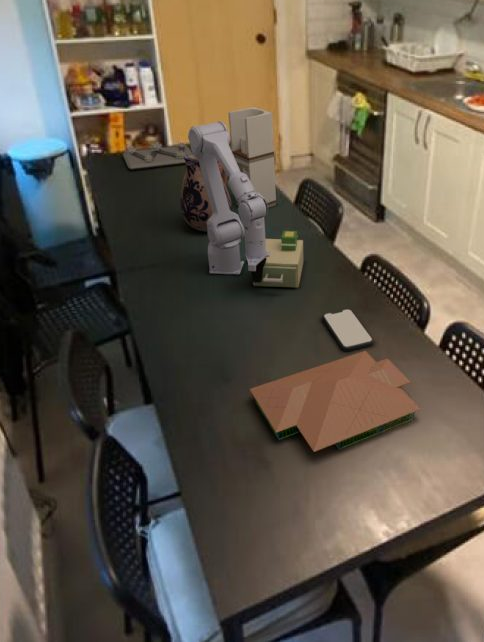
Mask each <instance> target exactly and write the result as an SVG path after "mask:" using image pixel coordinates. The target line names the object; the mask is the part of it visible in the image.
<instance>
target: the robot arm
mask: <svg viewBox="0 0 484 642" xmlns="http://www.w3.org/2000/svg"><path fill="white" fill-rule="evenodd" d="M187 139H188V142H189V146H190V151H191V152H192V153H193V156H194V157H197V158H198V160H199V164H200V168H201V171H202V175H203V179H204V182H205V186H206V190H207V193H208V197H209V201H210V204H211V208H212V212H213V214H212V216H211V217H210V218H209V220H208V221H207V229H208V232H207V237H208V238H207V239H208V240H209V243H208V246H207V257H208V266H209V267H208V268H209V270H208V271H209V272H208V273H209V274H211V275H214V274H216V275H234V276H235V275H237V276H238V275H240V274H241V273H242V270H243V267H244V265H245V264H246V265H247V270H248V272H250V273H251V279H252V283H253V282H255V283H261V280H262V275H263V267H264V265H265V263H266V260H267V259H266V258H265V257H270V252H267V251H266V242H265V239H266V227H265V226H266V223H265V217H266V216H267V215H268V214H269V208H268V205H267V202H266V200H265V198H264V197H263V196H261V195H260V194H259V193H258V192H256V191H255V189H254V187H253V185H252V184H251V182H250V180H249V178H248V176H247V175H246V174H245V173H243V171H241V170H240V167H239V165H238V162H236V160H235V158H234V156H233V153H232V151H231V145H230V144H231V139H230V131H229V129H228V127H227V125H226V124H225V123H224V122H223V121H221V120H220V121H217V122H212V123H207V124H201V125H197V126H195V125H194V126H191V127H190V128H189V131H188V135H187ZM216 158H217V160H218V161H219V163H220V164H221V166H222V167H223V169H224V171H225V172H226V174H227V175H228V180H227V185H228V187H229V188H230V189H229V190H230V191H231V192H232V194H233V196H234V198H235V200H237V202H238V204H239V206H238V207H237V209H238V213H236V212H234V211H233V210H231V211H230V209H229V205H228V202H227V198H226V194H225V190H224V186H223V183H222V179H221V175H220V171H219V167H218V164H217V160H216ZM225 221H227V222H225ZM221 222H224V223H221ZM219 223H220V224H219ZM243 238H244V247H245V253H244V256H245V259H246V260H245V261H244V260H241V249H240V243H242V239H243Z"/></svg>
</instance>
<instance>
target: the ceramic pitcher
mask: <svg viewBox="0 0 484 642" xmlns="http://www.w3.org/2000/svg"><path fill="white" fill-rule="evenodd" d="M184 160H185V162H186V164H185V166H186V169H185V172H184V177H183V180H182V186H181V192H180V199H179V200H180V203H179V204H180V211H181V215H182V216H183V219H184V221H185V222H186V223H187V224H188V225H189V226H190V227H191V228H193V229H195V230H197V231H200V232H207V233H208V229H207V221H208V220H209V218H210V217H211V216H212V214H213V212H212V208H211V204H210V201H209V197H208V193H207V190H206V186H205V182H204V179H203V175H202V171H201V168H200V164H199V160H198V158H197V157H194V156H193V154H189V155H186V156H185V157H184ZM216 160H217V158H216ZM218 162H219V161H218V160H217V164H218ZM220 175H221V174H220ZM221 179H222V183H223V186H224V190H225V194H226V198H227V202H228V205H229V209H230V211H233V205H232V199H231V196H230V193H229V190H228V188H227V185H228V179H229V177H228V175H227V174H226V172H225V171H224V169H223V171H222V176H221ZM225 222H227V221H225ZM221 223H224V222H221ZM219 224H220V223H219Z"/></svg>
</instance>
